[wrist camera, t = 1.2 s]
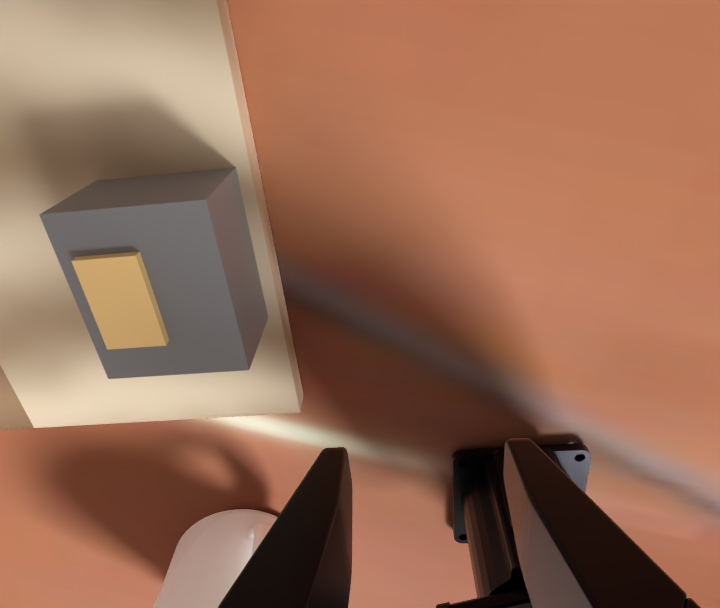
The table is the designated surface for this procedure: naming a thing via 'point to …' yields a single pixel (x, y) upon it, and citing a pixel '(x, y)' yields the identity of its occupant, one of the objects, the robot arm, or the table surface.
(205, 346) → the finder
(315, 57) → the table surface
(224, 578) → the mug
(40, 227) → the board
